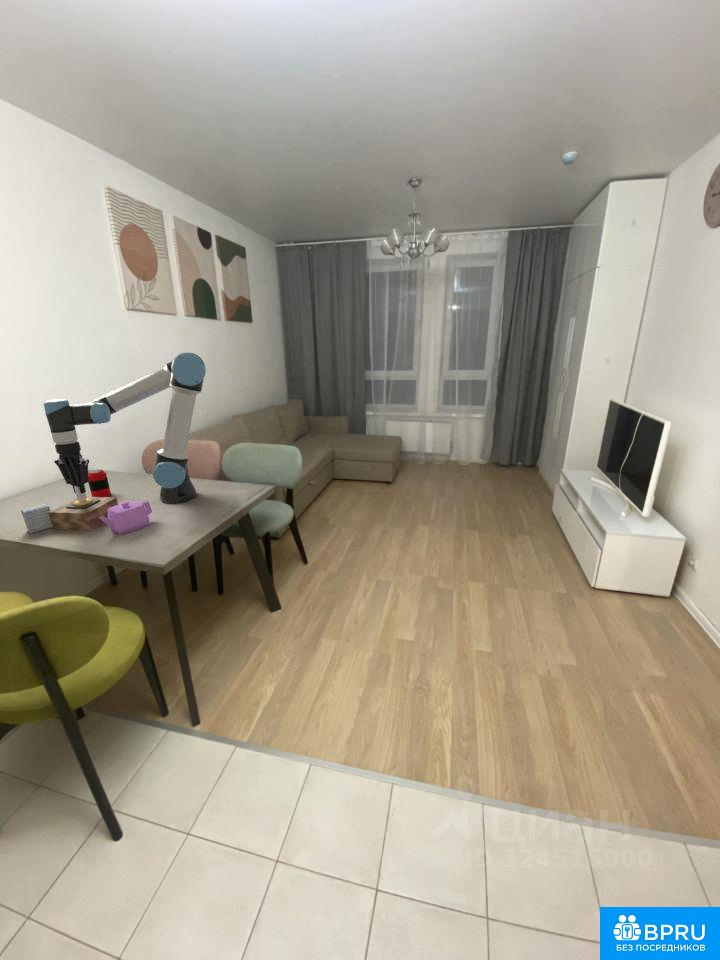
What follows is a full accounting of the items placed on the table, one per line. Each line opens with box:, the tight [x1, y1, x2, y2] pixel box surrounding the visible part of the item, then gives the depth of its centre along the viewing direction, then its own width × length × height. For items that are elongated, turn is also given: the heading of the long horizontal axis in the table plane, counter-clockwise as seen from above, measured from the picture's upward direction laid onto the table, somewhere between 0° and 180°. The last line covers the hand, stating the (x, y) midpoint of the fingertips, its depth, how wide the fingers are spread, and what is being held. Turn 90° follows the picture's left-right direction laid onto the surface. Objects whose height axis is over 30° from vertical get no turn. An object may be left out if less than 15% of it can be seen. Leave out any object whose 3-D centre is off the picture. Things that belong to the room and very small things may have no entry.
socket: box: [48, 496, 119, 531], centre depth 158 cm, size 16×16×8 cm
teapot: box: [99, 500, 153, 536], centre depth 151 cm, size 18×10×10 cm, turn 143°
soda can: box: [87, 469, 112, 497], centre depth 184 cm, size 8×8×12 cm
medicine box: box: [21, 503, 53, 534], centre depth 152 cm, size 8×4×9 cm, turn 141°
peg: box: [74, 498, 92, 506], centre depth 158 cm, size 6×6×8 cm
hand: (82, 500), depth 156 cm, fingers closed
